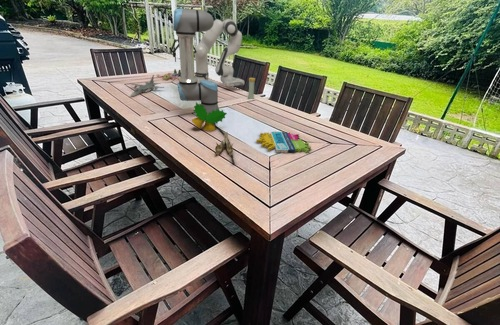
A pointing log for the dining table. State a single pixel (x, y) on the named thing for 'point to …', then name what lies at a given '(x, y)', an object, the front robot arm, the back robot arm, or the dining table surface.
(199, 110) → the ornament
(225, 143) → the jawbone
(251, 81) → the lid
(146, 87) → the airplane
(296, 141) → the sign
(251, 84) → the jar
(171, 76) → the toy
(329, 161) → the dining table surface
